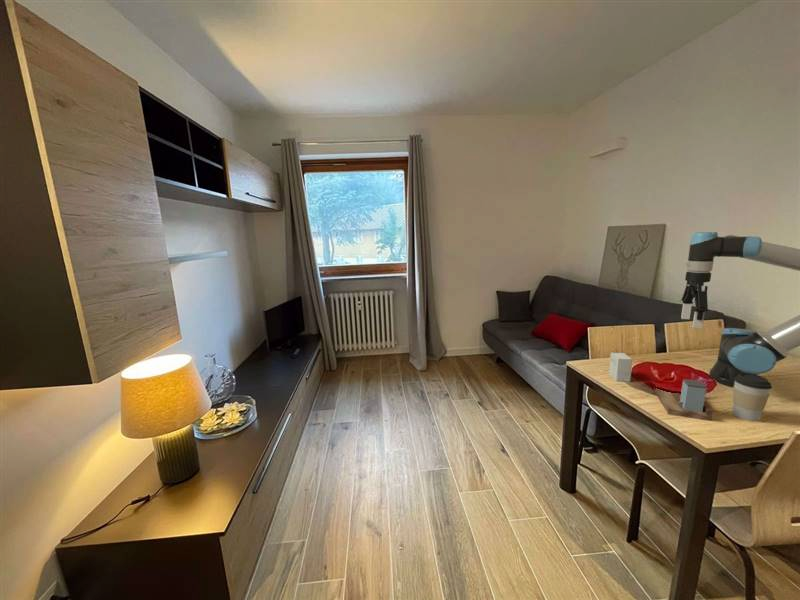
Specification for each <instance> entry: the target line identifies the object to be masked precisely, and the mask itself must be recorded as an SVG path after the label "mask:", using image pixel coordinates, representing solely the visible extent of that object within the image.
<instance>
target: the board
mask: <svg viewBox="0 0 800 600" xmlns="http://www.w3.org/2000/svg"><path fill="white" fill-rule="evenodd" d="M654 390H655V391H654V393H655V392H656V393H655V395H656V396H657V398H658V399H659V401H660V403H661V405H662V406H663V407H664V409H665V411H666V413H667V415H672V416H679V417H685V418H690V419H697V420H701V421H708V422H712V419H713V416H714V415H713V414H714V410H713V409H712V407H710V405H709V404H708V403H707V401H705V400H704V405H703V411H702V412H695V411H689V410H684V409H683V407H682V406H681V405H680V404H678V402H680V397H681V394H679V393H671V392H666V391H663V390H660V389H657V388H656V389H655V388H654Z"/></svg>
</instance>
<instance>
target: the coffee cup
mask: <svg viewBox="0 0 800 600" xmlns="http://www.w3.org/2000/svg"><path fill="white" fill-rule="evenodd" d="M734 381H735V383H734V387H732V388H733V390H732V391H733V392H732V415H733V416H735V417H736V418H738V419H741V420H744V421H747V420H748V421H747V422H754V421H757V422H760V421H759V420H761V418H762V416H763V412H764V410H765V408H766V405H767V403H768V399H769V397H770V391H771V389H772V388H773V387H772V383H771V382H770V381H769V380H768V379H767V378H766V377H763V376H761V375H759V374H758V375H754V374H747V373H743V374H742V373H740V374H739V375H738V376H736V377H735V378H734Z"/></svg>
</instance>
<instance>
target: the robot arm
mask: <svg viewBox="0 0 800 600" xmlns="http://www.w3.org/2000/svg"><path fill="white" fill-rule="evenodd" d="M715 257H718V258H719V257H722V258H723V257H724V258H725V257H726V258H731V257H732V258H741V259H742V258H743V259H746V260H751V261H754V262H760V263H763V264H767V265H772V266H775V267H781V268H786V269H790V270H792V271H793V270H794V271H799V272H800V248H796V247H792V246H791V247H790V246H786V245H781V244H777V243H771V242H766V241H763V240H762V238H761V237H759V236H750V235H749V236H740V235H739V236H738V235H732V234H730V235H726V236H719V235H718V232H717V231H697V232H693V234H692V235H691V238H690V243H689V251H688V257H687V262H686V263H685V265H686V266H687V267H686V270H687V271H686V272H685V278H684V280H685V281H686V285H685V289H684V291H683V294H682V297H681V302H682V309H681V316H680V317H681V320H690V319H691V313H692V306H693V303H694V304H695V308H694V309H693V312H694V315H693V321H692V326H691V327H692V328H697V329H698V328H699V329H703V323H704V319H705V318H704V317H705V313H706V312H708V311H709V308H708V306H709V305H708V285H704V284H705V283H709V282H711V277H712V271H713V269H714V268H713V266H714V262H715V261H714V259H715ZM693 300H694V302H693ZM798 347H800V314H799V315H797V316H796V315H795V316H794V317H792V318H791V319H789V320H787V321H785V322H783V323H780V324H778V325H776V326H775V327H772V328H770V329H769V330H766V331H758V330H753V329H746V328H739V327H738V328H737V327H736V328H735V327H725V328H723V329H722V332H721V334H720V343H719V349H718V354H717V360H716V362H714V364H713V366H712V367H711V369H710V370H709V375H710V376H711V377H712V378H713V379H715V380H716V381H717V382H716V381H715V382H716V383H718V384H721V385H724V386H728V387H731V388H734V383H735V381H734V378H735V377H736V376H738V375H739V374H740V373H742V374H743V373H747V374H754V375H758V376H759V374H761V375H762V374H766V373H768V372H770V371H771V370H773V369H774V368H775V366H776V364H777V362H779V361H782V360H784V359H786V358H788V352H790V351H791V350H793V349H796V348H798ZM709 375H708V376H709Z"/></svg>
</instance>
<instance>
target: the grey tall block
mask: <svg viewBox="0 0 800 600" xmlns="http://www.w3.org/2000/svg"><path fill="white" fill-rule="evenodd" d="M682 379H683V380H682V383H681V384H682V385H681V389H680V390H681V397H680V402H678V404H680V405H681V406H682V407H683V409H684V410H689V411H695V412H702V411H703V405H704V401H705V398H706V394H707V386H706V385H705V384H704V382H702V381H701V380H694V379H686V378H682Z"/></svg>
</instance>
